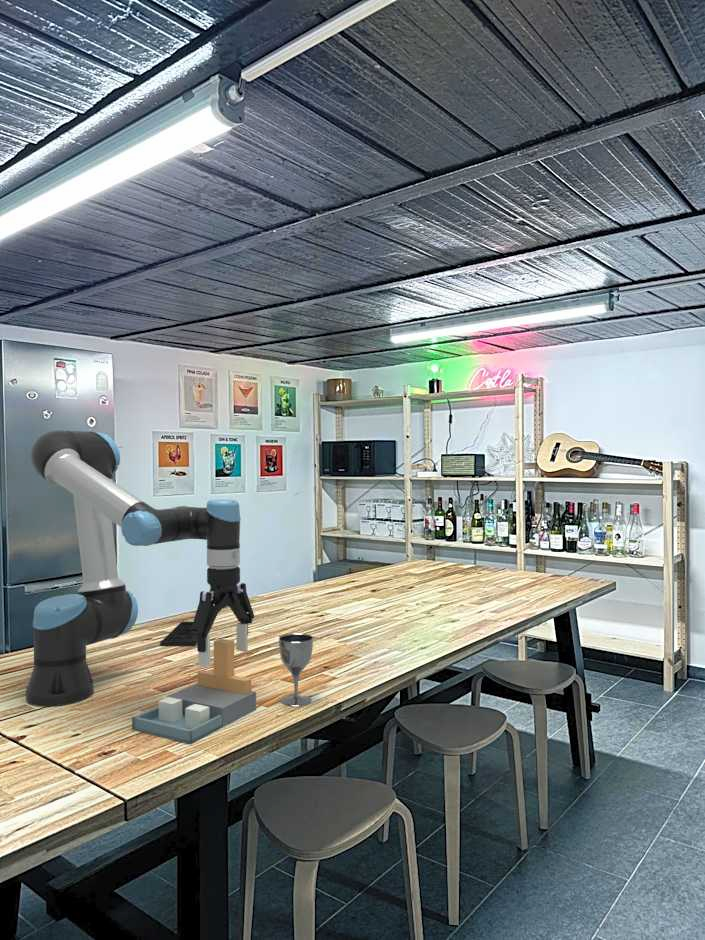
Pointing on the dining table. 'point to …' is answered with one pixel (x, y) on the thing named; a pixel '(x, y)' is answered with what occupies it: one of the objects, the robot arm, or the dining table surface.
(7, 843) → the dining table surface
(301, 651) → the wine glass
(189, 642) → the black shallow tray
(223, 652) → the orange t-shaped block
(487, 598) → the dining table surface
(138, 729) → the blue-grey flat tray
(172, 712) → the white cube block
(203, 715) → the white rectangular block
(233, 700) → the grey drawer housing
